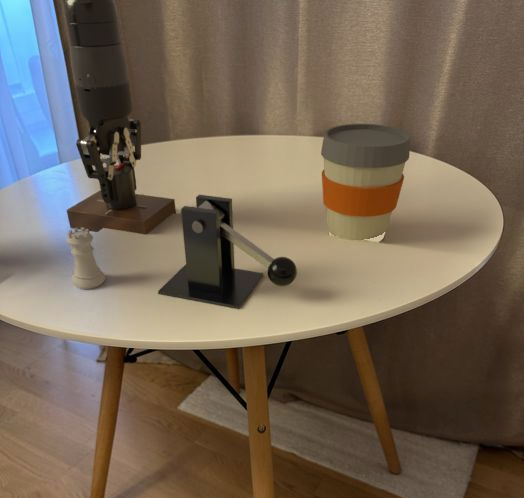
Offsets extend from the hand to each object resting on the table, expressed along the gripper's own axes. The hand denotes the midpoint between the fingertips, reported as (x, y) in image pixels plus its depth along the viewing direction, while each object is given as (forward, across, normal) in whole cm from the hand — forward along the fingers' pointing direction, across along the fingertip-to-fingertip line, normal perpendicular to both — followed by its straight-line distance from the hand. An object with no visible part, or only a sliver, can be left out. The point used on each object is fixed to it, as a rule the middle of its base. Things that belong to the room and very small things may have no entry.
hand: (120, 195), depth 88 cm
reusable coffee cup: (+5, -8, +37) cm, 38 cm away
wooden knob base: (+4, 0, 0) cm, 4 cm away
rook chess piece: (+5, +21, +8) cm, 23 cm away
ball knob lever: (-1, +16, +27) cm, 31 cm away
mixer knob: (+1, 0, 0) cm, 1 cm away
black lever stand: (+4, +16, +23) cm, 28 cm away
